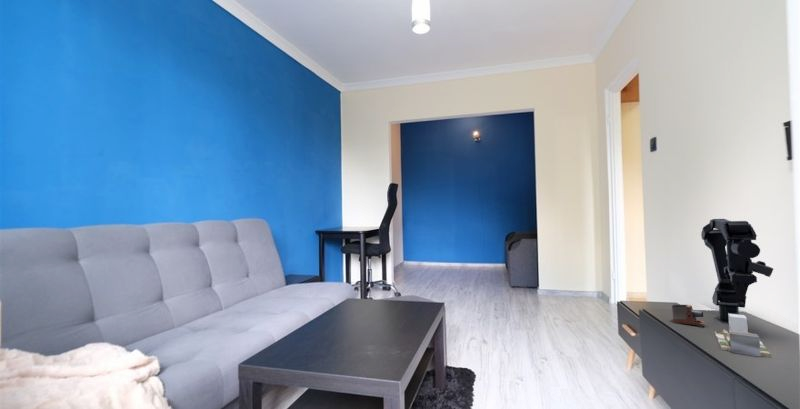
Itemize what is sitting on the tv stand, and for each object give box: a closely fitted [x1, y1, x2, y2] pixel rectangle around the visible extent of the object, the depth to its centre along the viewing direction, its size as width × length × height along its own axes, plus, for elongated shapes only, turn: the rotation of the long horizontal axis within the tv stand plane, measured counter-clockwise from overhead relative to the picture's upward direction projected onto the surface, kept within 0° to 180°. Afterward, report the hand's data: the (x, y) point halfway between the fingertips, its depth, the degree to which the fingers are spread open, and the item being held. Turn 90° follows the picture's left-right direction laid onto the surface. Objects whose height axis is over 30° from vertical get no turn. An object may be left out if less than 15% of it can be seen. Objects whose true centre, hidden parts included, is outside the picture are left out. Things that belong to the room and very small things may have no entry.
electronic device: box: [671, 304, 706, 328], centre depth 133 cm, size 4×10×8 cm, turn 44°
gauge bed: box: [714, 328, 772, 358], centre depth 112 cm, size 17×11×6 cm, turn 142°
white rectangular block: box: [715, 313, 749, 334], centre depth 115 cm, size 4×8×8 cm, turn 52°
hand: (740, 296), depth 123 cm, fingers open, 6 cm apart
